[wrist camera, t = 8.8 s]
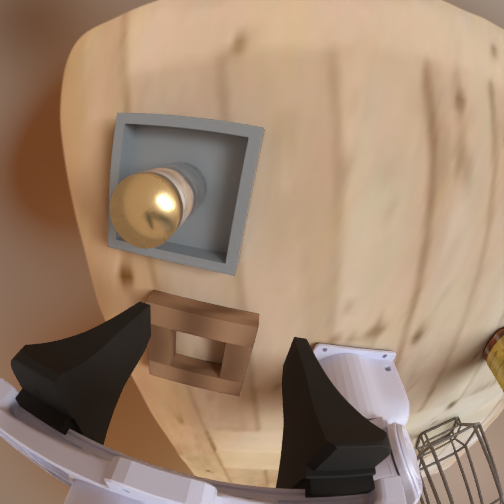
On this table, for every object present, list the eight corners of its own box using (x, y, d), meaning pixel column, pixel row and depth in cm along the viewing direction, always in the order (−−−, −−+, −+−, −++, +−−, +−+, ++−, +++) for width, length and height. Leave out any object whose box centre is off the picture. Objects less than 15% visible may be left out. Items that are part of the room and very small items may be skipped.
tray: (264, 129, 18) (263, 127, 16) (238, 261, 23) (234, 275, 20) (132, 114, 18) (117, 112, 16) (122, 236, 23) (108, 246, 20)
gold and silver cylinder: (210, 165, 19) (181, 178, 13) (203, 218, 21) (174, 254, 14) (159, 159, 19) (110, 170, 12) (154, 210, 20) (109, 241, 14)
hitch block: (259, 314, 24) (258, 327, 23) (241, 382, 28) (239, 396, 27) (153, 289, 24) (145, 301, 23) (155, 361, 28) (149, 374, 26)
